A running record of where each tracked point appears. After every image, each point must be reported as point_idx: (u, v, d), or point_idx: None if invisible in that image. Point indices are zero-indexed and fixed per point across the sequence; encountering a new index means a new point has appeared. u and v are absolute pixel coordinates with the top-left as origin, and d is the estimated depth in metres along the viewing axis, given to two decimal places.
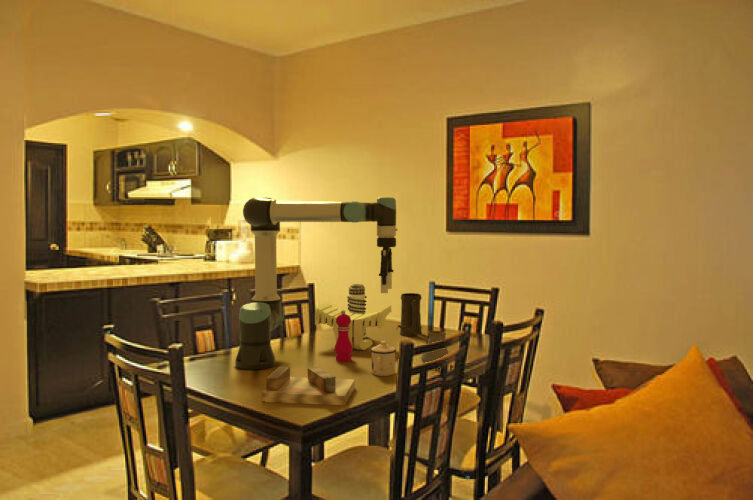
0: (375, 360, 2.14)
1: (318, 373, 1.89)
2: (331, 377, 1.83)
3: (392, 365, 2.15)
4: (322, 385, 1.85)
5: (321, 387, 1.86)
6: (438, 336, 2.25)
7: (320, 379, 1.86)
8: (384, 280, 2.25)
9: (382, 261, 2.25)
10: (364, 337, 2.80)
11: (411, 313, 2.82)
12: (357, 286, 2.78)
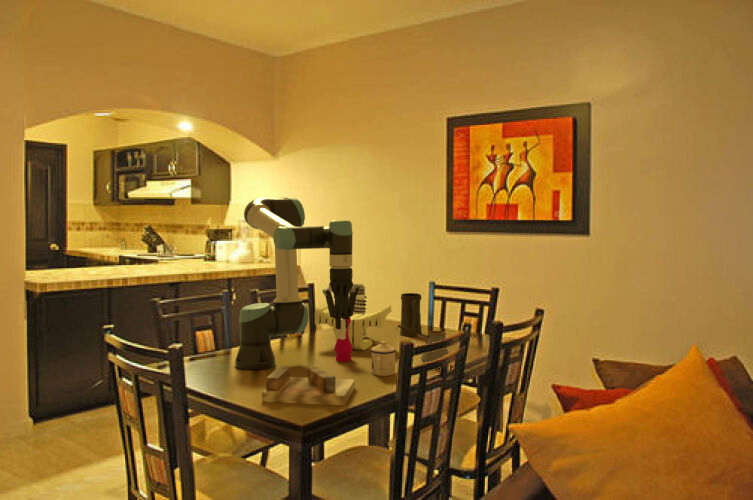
0: (375, 360, 2.14)
1: (318, 373, 1.89)
2: (331, 377, 1.83)
3: (392, 365, 2.15)
4: (322, 385, 1.85)
5: (321, 387, 1.86)
6: (438, 336, 2.25)
7: (320, 379, 1.86)
8: (336, 324, 1.95)
9: (328, 303, 1.93)
10: (364, 337, 2.80)
11: (411, 313, 2.82)
12: (357, 286, 2.78)
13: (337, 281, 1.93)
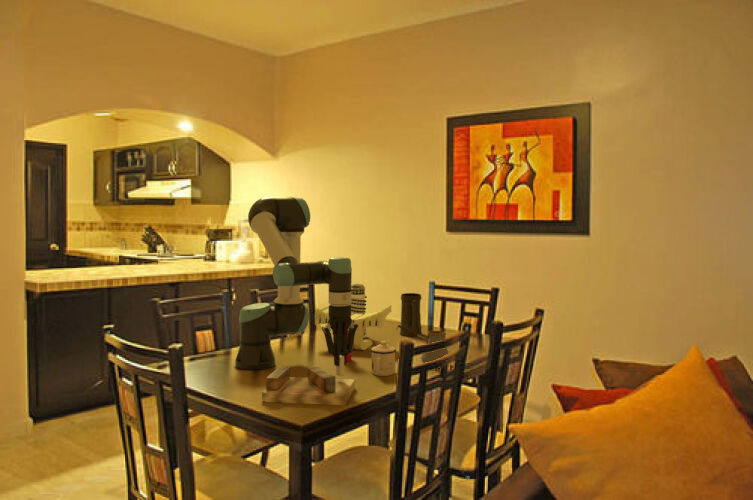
0: (375, 360, 2.14)
1: (318, 373, 1.89)
2: (331, 377, 1.83)
3: (392, 365, 2.15)
4: (322, 385, 1.85)
5: (321, 387, 1.86)
6: (438, 336, 2.25)
7: (320, 379, 1.86)
8: (335, 361, 1.95)
9: (326, 340, 1.93)
10: (364, 337, 2.80)
11: (411, 313, 2.82)
12: (357, 286, 2.78)
13: (336, 318, 1.93)
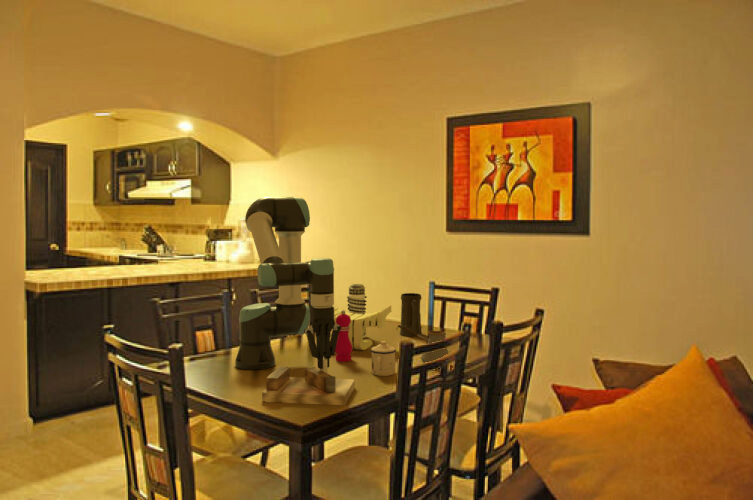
0: (375, 360, 2.14)
1: (317, 373, 1.89)
2: (331, 377, 1.83)
3: (392, 365, 2.15)
4: (322, 385, 1.85)
5: (321, 387, 1.85)
6: (438, 336, 2.25)
7: (320, 379, 1.86)
8: (318, 363, 1.92)
9: (309, 343, 1.90)
10: (364, 337, 2.80)
11: (411, 313, 2.82)
12: (357, 286, 2.78)
13: (318, 320, 1.90)
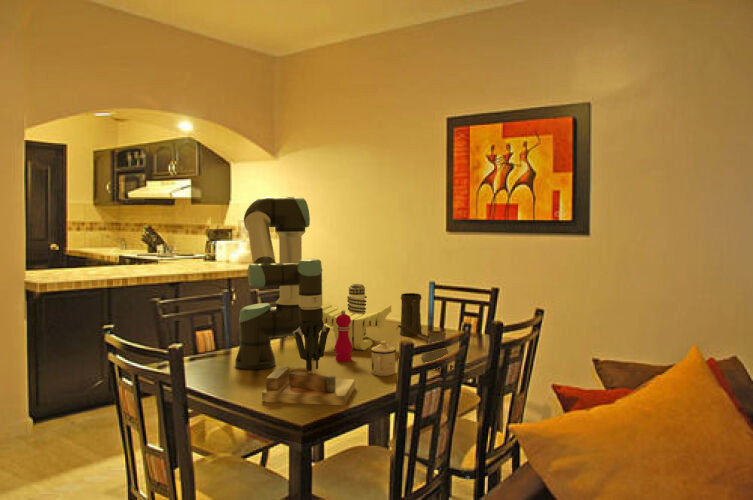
0: (375, 360, 2.14)
1: (309, 376, 1.86)
2: (331, 377, 1.84)
3: (392, 365, 2.15)
4: (321, 386, 1.83)
5: (319, 389, 1.84)
6: (438, 336, 2.25)
7: (317, 381, 1.84)
8: (307, 365, 1.89)
9: (298, 345, 1.88)
10: (364, 337, 2.80)
11: (411, 313, 2.82)
12: (357, 286, 2.78)
13: (307, 322, 1.88)
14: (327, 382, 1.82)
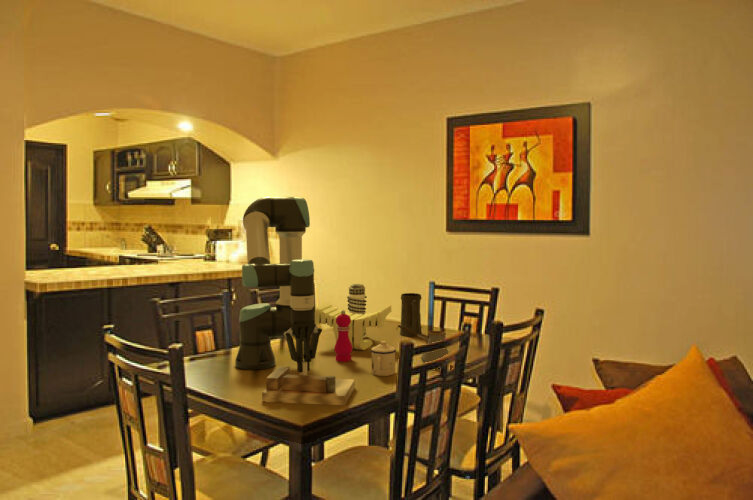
0: (375, 360, 2.14)
1: (307, 378, 1.84)
2: (331, 377, 1.84)
3: (392, 365, 2.15)
4: (321, 387, 1.82)
5: (319, 390, 1.83)
6: (438, 336, 2.25)
7: (317, 382, 1.83)
8: (298, 367, 1.87)
9: (289, 346, 1.86)
10: (364, 337, 2.80)
11: (411, 313, 2.82)
12: (357, 286, 2.78)
13: (298, 323, 1.86)
14: (328, 382, 1.82)
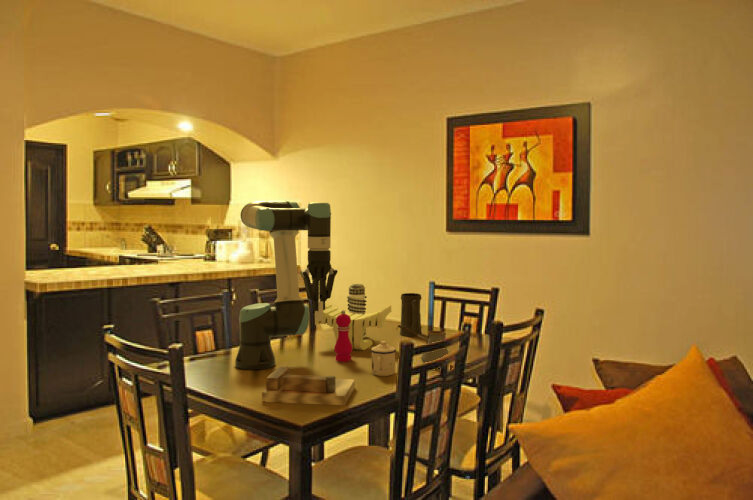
0: (375, 360, 2.14)
1: (307, 378, 1.84)
2: (331, 377, 1.84)
3: (392, 365, 2.15)
4: (321, 387, 1.82)
5: (319, 390, 1.83)
6: (438, 336, 2.25)
7: (317, 382, 1.83)
8: (314, 306, 1.95)
9: (305, 285, 1.94)
10: (364, 337, 2.80)
11: (411, 313, 2.82)
12: (357, 286, 2.78)
13: (315, 263, 1.94)
14: (328, 382, 1.82)
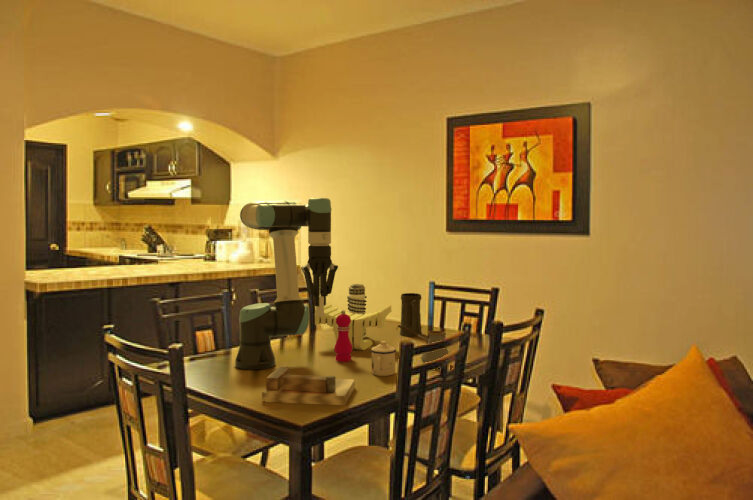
0: (375, 360, 2.14)
1: (307, 378, 1.84)
2: (331, 377, 1.84)
3: (392, 365, 2.15)
4: (321, 387, 1.82)
5: (319, 390, 1.83)
6: (438, 336, 2.25)
7: (317, 382, 1.83)
8: (315, 301, 1.96)
9: (306, 280, 1.94)
10: (364, 337, 2.80)
11: (411, 313, 2.82)
12: (357, 286, 2.78)
13: (315, 258, 1.94)
14: (328, 382, 1.82)
